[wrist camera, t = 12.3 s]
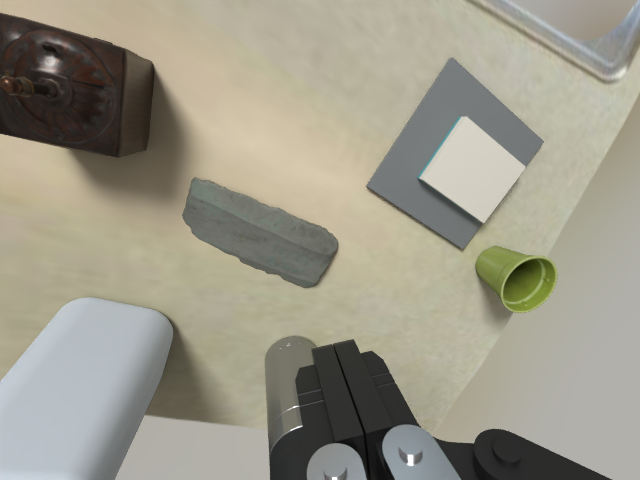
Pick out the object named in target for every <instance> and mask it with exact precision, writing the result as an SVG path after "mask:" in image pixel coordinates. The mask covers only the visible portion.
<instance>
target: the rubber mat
mask: <svg viewBox="0 0 640 480" xmlns="http://www.w3.org/2000/svg"><path fill="white" fill-rule="evenodd" d="M464 116H467V117H468V118H469V119H470V120H471V121H473V122H474V123H475V124H476V125H477V126H478V127H480V128H481V129H482V130H483V131H484V132H485V133H487V134H488V135H489V136H490V137H491V138H492V139H494V140H495V141H496V142H497V143H498V144H500V145H501V146H502V147H503V148H504V149H505V150H507V151H508V152H509V153H510V154H511V155H512V156H514V157H515V158H516V159H517V160H518V161H519V162H521V163H522V164H523V165H524V166H526V165H527V164H528V162H529V161H530V160H531V158H532V157H533V156H534V154H535V153H536V152H537V150H538V149H539V148H540V146H541V145H542V144H543V142H544V141H543V140H542V139H541V138H540V137H538V136H537V135H536V134H535V133H534V132H533V131H532V130H531V129H530V128H529V127H528V126H527V125H525V124H524V123H523V122H522V121H521V120H520V119H519V118H518V117H517V116H516V115H515V114H513V113H512V112H511V111H510V110H509V109H508V108H507V107H506V106H505V105H504V104H503V103H502V102H500V101H499V100H498V99H497V98H496V97H495V96H494V95H493V94H492V93H491V92H490V91H489V90H487V89H486V88H485V87H484V86H483V85H482V84H481V83H480V82H479V81H478V80H477V79H476V78H474V77H473V76H472V75H471V74H470V73H469V72H468V71H467V70H466V69H465V68H464V67H463V66H461V65H460V64H459V63H458V62H457V61H456V60H455V59H454V58H450V59H449V60H448V62H447V63H446V65H445V66H444V68H443V69H442V71H441V72H440V74H439V75H438V77H437V78H436V80H435V81H434V83H433V85H432V86H431V88H430V89H429V91H428V92H427V94H426V95H425V97H424V98H423V100H422V101H421V103H420V104H419V106H418V107H417V109H416V111H415V112H414V114H413V115H412V117H411V118H410V120H409V121H408V123H407V124H406V126H405V127H404V129H403V130H402V132H401V133H400V135H399V136H398V138H397V140H396V141H395V143H394V144H393V146H392V147H391V149H390V150H389V152H388V153H387V155H386V156H385V158H384V159H383V161H382V162H381V164H380V166H379V167H378V169H377V170H376V172H375V173H374V175H373V176H372V178H371V179H370V181H369V182H368V184H367V185H366V186H367V187H368V188H370V189H371V190H373V191H374V192H376V193H377V194H379V195H381V196H382V197H384V198H385V199H387V200H388V201H390V202H391V203H393V204H394V205H396V206H397V207H399V208H400V209H402V210H403V211H405V212H406V213H408V214H410V215H411V216H413V217H414V218H416V219H417V220H419V221H420V222H422V223H423V224H425V225H426V226H428V227H429V228H431V229H432V230H434V231H435V232H437V233H438V234H440V235H442V236H443V237H445V238H446V239H448V240H449V241H451V242H452V243H454V244H455V245H457V246H458V247H460V248H461V249H464V248H465V246H466V245H467V244H468V242H469V241H470V240H471V238H472V237H473V236H474V234H475V233H476V232H477V230H478V229H479V228H480V226H481V225H482V224H483V223H482V222H480V221H477V220H476V219H474V218H473V217H472V216H470V215H469V214H467V213H466V212H464V211H463V210H462V209H460V208H459V207H457V206H456V205H455V204H453V203H452V202H450V201H449V200H448V199H446V198H445V197H443V196H442V195H441V194H439V193H438V192H436V191H435V190H434V189H432V188H431V187H429V186H428V185H427V184H425V183H424V182H422V181H421V180H420V179H418V178H417V177H418V176H419V174H420V173H421V171H422V170H423V169H424V167H425V166H426V164H427V163H428V161H429V160H430V158H431V157H432V155H433V154H434V152H435V151H436V150H437V148H438V147H439V145H440V144H441V142H442V141H443V139H444V138H445V136H446V135H447V133H448V132H449V131H450V129H451V128H452V126H453V125H454V123H455V122H456V120H457V119H458V117H464Z"/></svg>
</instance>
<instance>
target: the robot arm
mask: <svg viewBox="0 0 640 480" xmlns="http://www.w3.org/2000/svg"><path fill="white" fill-rule="evenodd" d="M265 377H266V378H265V379H266V400H267V421H268V439H269V458H270V480H611V479H609V478H607V477H605V476H603V475H601V474H599V473H597V472H595V471H592V470H590V469H588V468H586V467H584V466H581V465H580V464H578V463H575V462H573V461H571V460H569V459H567V458H565V457H563V456H560V455H558V454H556V453H554V452H552V451H550V450H548V449H545V448H544V447H541V446H539V445H537V444H535V443H533V442H531V441H529V440H526V439H524V438H522V437H520V436H518V435H516V434H514V433H511V432H509V431H505V430H501V429H490V430H486V431H483V432H482V433H480V434H479V435H478V436H477V438H476V439H475V443H474V444H472V443H455V442H446V441H442V440H439V439H436V438H434V437H433V436H432V435H430V434H429V433H428V432H427V431H426V430H424V429H422V428H421V427H420V426H419V424H418V423H417V421H416V419H415V418H414V416H413V414H412V412H411V410H410V408H409V407H408V405H407V403H406V401H405V399H404V397H403V395H402V394H401V392H400V390H399V388H398V386H397V384H395V381H394V379H393V377H392V375H391V374H390V372H389V370H388V368H387V366H386V364H385V362H384V360H383V359H382V358H380V357H379V356H378V355H377V354H375V353H374V352H373V351H369V352H364V353H360V352H359V349H358V347H357V345H356V343H355V341H354V340H353V339H352V340H347V341H343V342H339V343H334V344H333V346H332V344H330V345H326V346H321V347H316V345H315V344H314V343H313V342H312V341H310V340H308V339H306V338H303V337H296V336H293V337H287V338H284V339H281V340H279V341H277V342H276V343H275V344H274V345H272V346H271V348H270V349H269V350H268V352H267V354H266V357H265Z"/></svg>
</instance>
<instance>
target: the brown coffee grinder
mask: <svg viewBox="0 0 640 480" xmlns="http://www.w3.org/2000/svg"><path fill="white" fill-rule="evenodd" d="M153 82H154V69H153V65H152V61H150V60H147V59H144V58H142V57H140V56H138V55H137V54H135V53H133V52H131V51H129V50H128V49H125V48H122V47H119V46H116V45H113V44H112V43H110V42H107V41H104V40H100V39H97V38H91V37H87V36H84V35H80V34H77V33H74V32H70V31H67V30H64V29H60V28H57V27H53V26H49V25H46V24H43V23H39V22H36V21H32V20H29V19H25V18H21V17H17V16H12V15H8V14H3V13H0V134H4V135H9V136H13V137H17V138H22V139H26V140H31V141H35V142H40V143H44V144H49V145H54V146H58V147H63V148H67V149H71V150H76V151H82V152H88V153H94V154H100V155H106V156H113V157H118V158H120V157H122V156H126V155H129V154H133V153H136V152H139V151H143V150H145V151H146V147H147V141H148V136H149V128H150V117H151V106H152V95H153Z"/></svg>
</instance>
